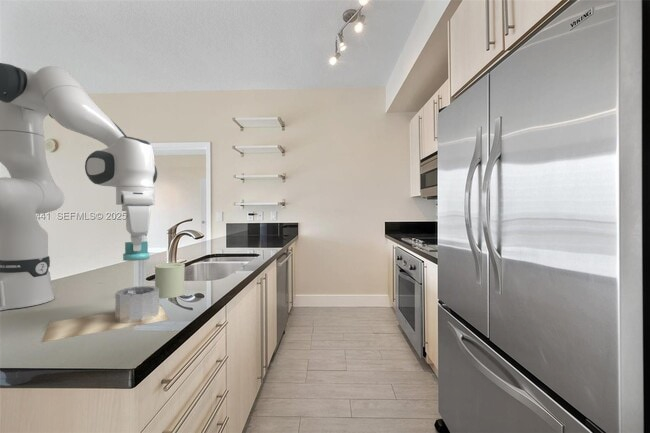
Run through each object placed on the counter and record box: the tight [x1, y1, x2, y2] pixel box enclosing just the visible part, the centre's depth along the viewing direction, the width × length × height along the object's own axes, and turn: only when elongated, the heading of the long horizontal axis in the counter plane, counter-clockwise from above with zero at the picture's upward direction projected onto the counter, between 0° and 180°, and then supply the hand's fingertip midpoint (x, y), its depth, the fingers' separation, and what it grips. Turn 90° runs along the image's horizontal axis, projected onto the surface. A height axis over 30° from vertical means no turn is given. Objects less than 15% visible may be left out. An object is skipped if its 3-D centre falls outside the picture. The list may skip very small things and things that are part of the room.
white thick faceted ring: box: [114, 285, 160, 323], centre depth 83 cm, size 10×10×7 cm
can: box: [154, 262, 186, 299], centre depth 104 cm, size 9×9×12 cm
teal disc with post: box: [122, 241, 150, 262], centre depth 82 cm, size 6×6×4 cm
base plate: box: [41, 305, 170, 343], centre depth 79 cm, size 25×14×2 cm, turn 126°
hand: (136, 250), depth 82 cm, fingers closed on teal disc with post, 2 cm apart
